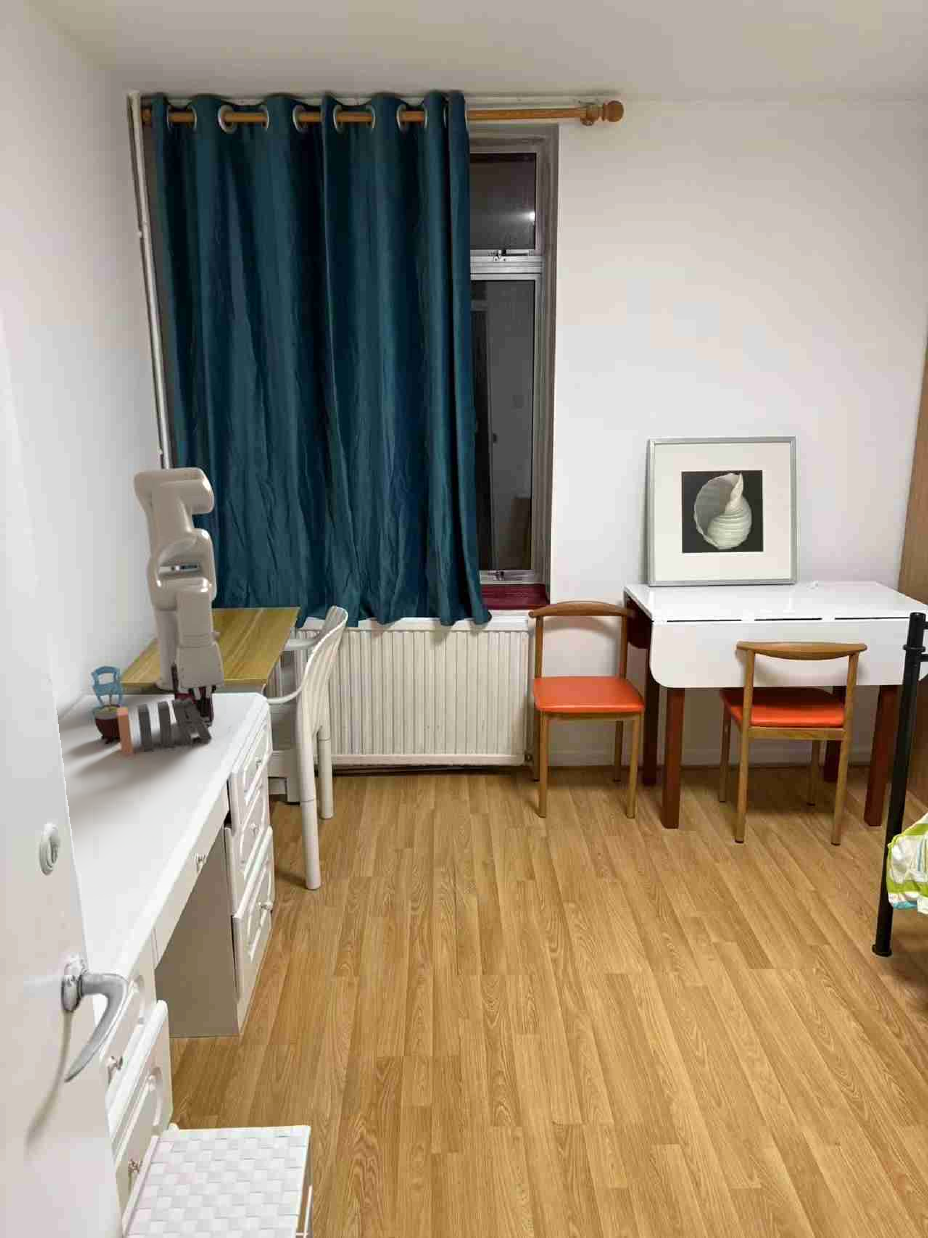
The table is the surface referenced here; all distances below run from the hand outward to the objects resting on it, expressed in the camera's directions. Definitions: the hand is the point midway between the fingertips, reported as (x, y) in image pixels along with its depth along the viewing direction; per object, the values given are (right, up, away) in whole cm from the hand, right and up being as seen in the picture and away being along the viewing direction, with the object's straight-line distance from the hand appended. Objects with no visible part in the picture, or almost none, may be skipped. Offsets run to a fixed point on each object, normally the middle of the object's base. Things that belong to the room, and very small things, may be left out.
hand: (204, 712), depth 227 cm
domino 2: (-8, -7, -1) cm, 11 cm away
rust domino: (-17, -9, -5) cm, 19 cm away
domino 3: (-4, -7, 0) cm, 8 cm away
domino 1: (-12, -8, -3) cm, 15 cm away
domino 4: (0, -6, +2) cm, 6 cm away
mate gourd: (-22, -7, +2) cm, 23 cm away
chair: (-29, -2, +18) cm, 33 cm away
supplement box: (-5, -4, +11) cm, 13 cm away
